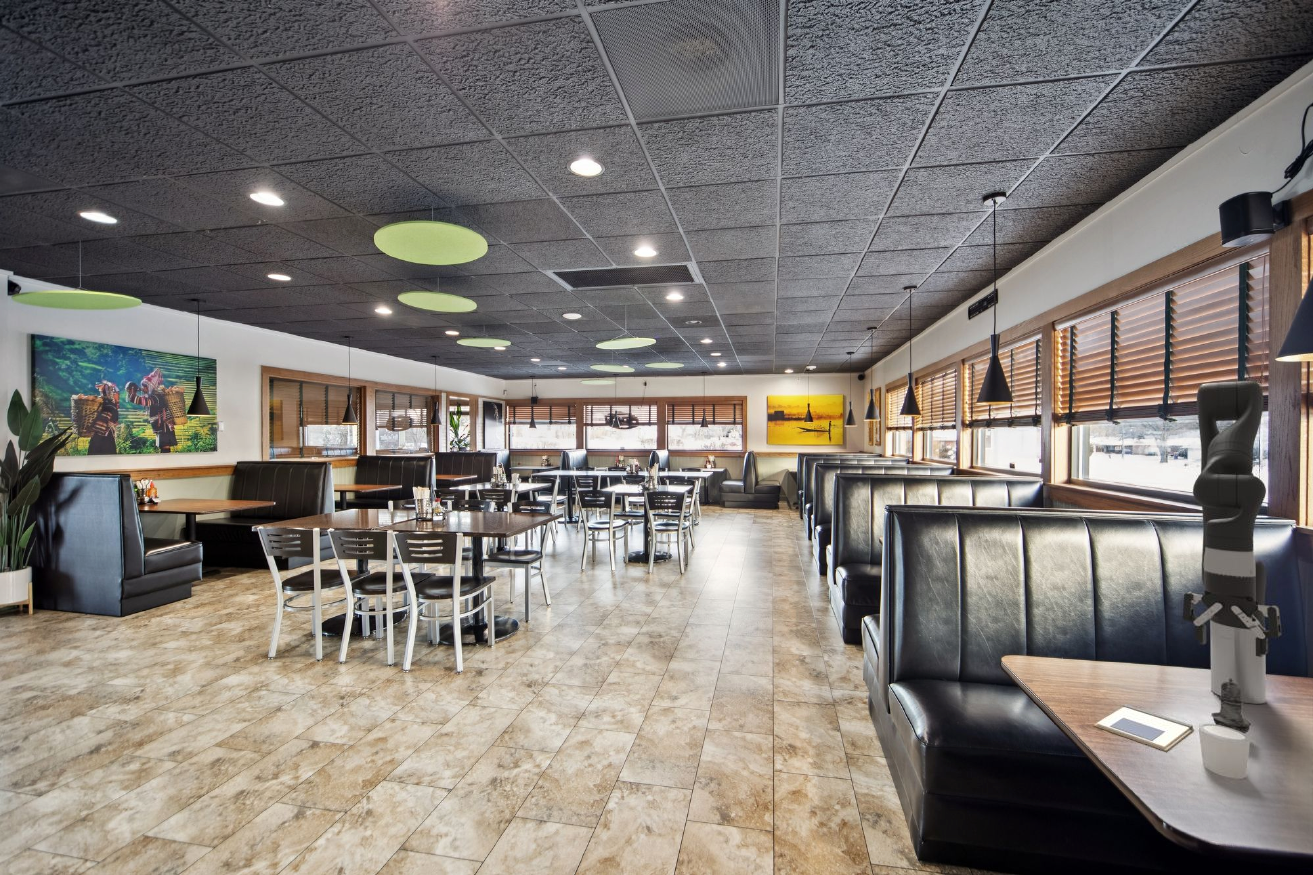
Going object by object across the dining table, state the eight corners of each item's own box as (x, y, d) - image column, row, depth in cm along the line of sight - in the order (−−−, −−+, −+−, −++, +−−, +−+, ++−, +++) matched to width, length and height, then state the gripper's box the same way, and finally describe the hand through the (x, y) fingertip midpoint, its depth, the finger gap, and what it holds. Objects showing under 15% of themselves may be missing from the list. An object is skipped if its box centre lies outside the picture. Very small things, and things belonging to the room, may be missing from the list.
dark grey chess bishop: (1260, 745, 114) (1259, 685, 114) (1225, 742, 115) (1224, 682, 116) (1236, 731, 120) (1236, 673, 120) (1204, 728, 121) (1203, 671, 121)
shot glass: (1242, 784, 101) (1241, 744, 101) (1191, 765, 107) (1191, 727, 107) (1257, 774, 104) (1257, 735, 104) (1207, 756, 110) (1207, 719, 110)
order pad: (1124, 707, 130) (1124, 703, 130) (1194, 730, 120) (1194, 725, 120) (1093, 726, 122) (1093, 721, 122) (1166, 751, 112) (1166, 746, 112)
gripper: (1284, 575, 114) (1285, 656, 114) (1189, 562, 126) (1190, 636, 126) (1274, 580, 110) (1275, 664, 110) (1177, 566, 122) (1178, 642, 122)
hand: (1230, 649), depth 118 cm, fingers open, 8 cm apart
